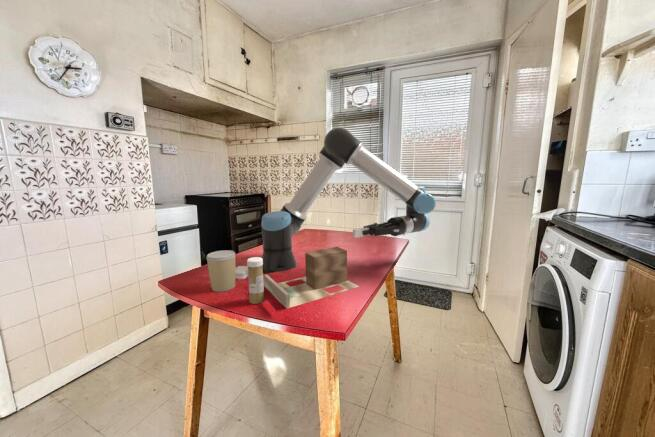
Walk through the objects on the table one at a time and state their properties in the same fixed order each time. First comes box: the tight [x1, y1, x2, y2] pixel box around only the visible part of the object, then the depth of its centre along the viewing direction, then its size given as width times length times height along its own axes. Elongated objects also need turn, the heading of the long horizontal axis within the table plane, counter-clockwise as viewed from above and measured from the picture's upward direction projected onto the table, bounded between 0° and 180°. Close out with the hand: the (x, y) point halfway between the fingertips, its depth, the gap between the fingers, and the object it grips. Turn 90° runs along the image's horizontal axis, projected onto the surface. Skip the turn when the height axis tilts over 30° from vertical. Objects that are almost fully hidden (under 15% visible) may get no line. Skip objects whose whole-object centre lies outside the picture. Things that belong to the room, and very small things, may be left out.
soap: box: [235, 265, 249, 280], centre depth 101 cm, size 9×7×3 cm
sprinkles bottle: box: [246, 256, 265, 305], centre depth 78 cm, size 5×5×14 cm
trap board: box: [263, 274, 360, 310], centre depth 85 cm, size 26×18×6 cm
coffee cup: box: [205, 249, 237, 293], centre depth 89 cm, size 9×9×12 cm
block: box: [304, 246, 348, 290], centre depth 88 cm, size 13×6×11 cm, turn 123°
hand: (354, 233), depth 92 cm, fingers closed
